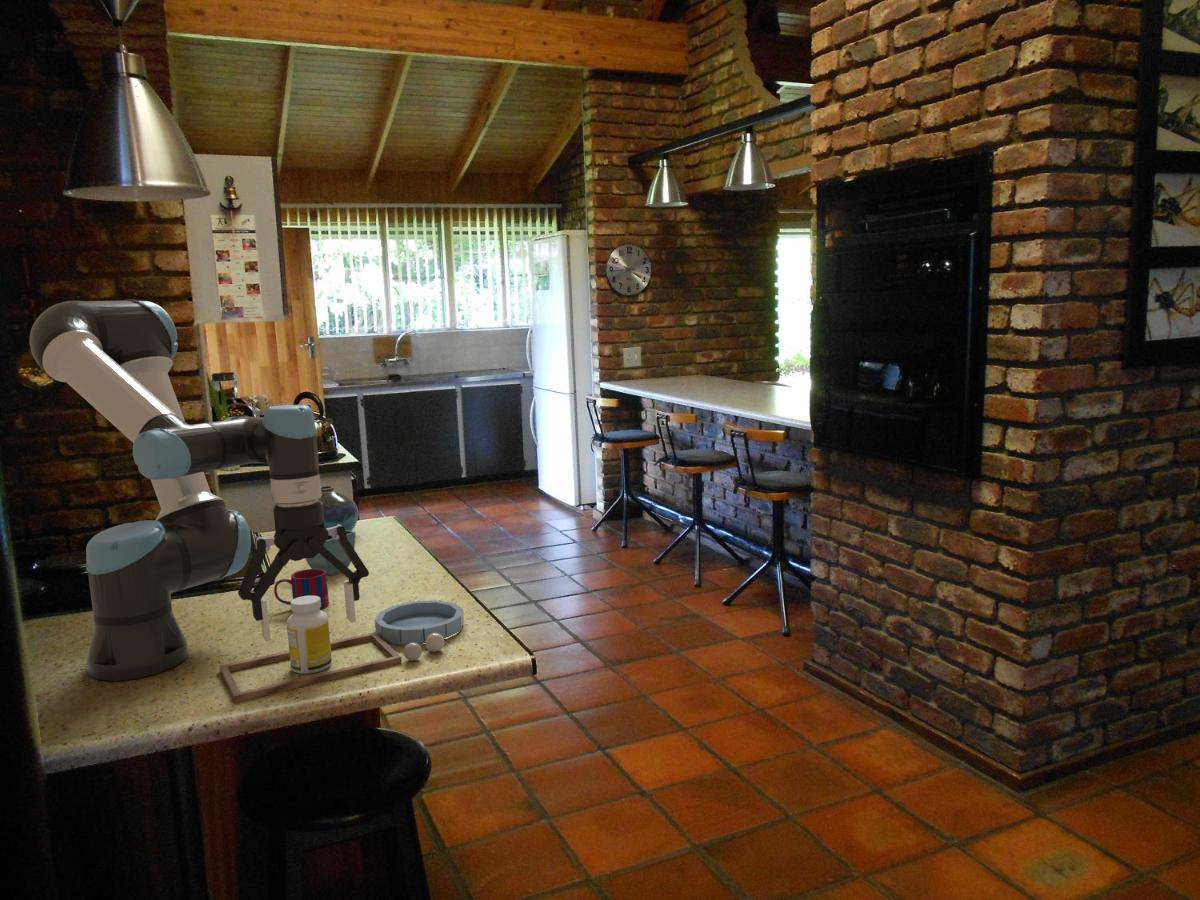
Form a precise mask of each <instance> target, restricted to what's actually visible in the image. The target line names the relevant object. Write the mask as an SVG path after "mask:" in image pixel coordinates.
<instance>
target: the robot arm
mask: <svg viewBox="0 0 1200 900" xmlns="http://www.w3.org/2000/svg"><path fill="white" fill-rule="evenodd" d="M178 338H179V337H178V333H177V328H176V326H175V323H174V321H173V320H172V318H171V316H170V315H169V313H168V312H167V311H166V310H165V309H164V308H163V307H161V305H159V304H157V303H154V302H152V301H148V300H137V299H131V298H130V299H124V300H67V301H62V302H60V303H59V302H58V303H56V304H53V305H52V306H50V307H48V308H46V309H45V310H44V311H43V312H42V313H41V314H39V315H38V317H37V318H36V319H35V321H34V323H33V324H32V327H31V330H30V333H29V346H30V353H31V354H32V357H33V359H34V361H35V362H36V364H37V365H38V366H39V367H40V369H42V371H44V373H46V374H47V376H49V377H50V378H52V379H53V380H54V381H55V380H56V381H58V382H62V383H66V384H68V386H70V387H71V388H72V389H73V390H74V391H75V392H76V393H77V394H79V396H81V397H82V398H83V399H85V400H86V401H87V402H88V404H89V405H91V406H92V407H93V408H94V409H95V410H96V411H98V413H99V414H101V416H103V417H104V418H105V419H106V420H107V421H108V422H110V423H111V424H112V425H113V426H114V427H115V428H116V429H117V430H118V431H119V432H121V433H122V434H123V435H124V437H126V438H127V439H128V440H130V442H132V444H133V446H132V457H133V460H134V464H135V465H137V468H138V469H137V470H138V471H139V473H140V474H141V475H142V476H143V477H144V478H147V479H149V480H150V481H151V484H152V487H153V489H154V493H155V495H156V498H157V501H158V503H159V506H160V511H159V513H158V515H157V517H156V518H155V520H154V519H153V520H152V519H148V520H147V519H146V520H138V521H134V522H126V523H122V524H118V525H116V526H113V527H109V528H107V529H105V530H102V531H101V532H98V533H97V534H95V535H94V536H93V537H91V539H90V540H89V541H88V543H87V544H86V548H85V549H86V552H85V555H86V557H85V559H86V560H85V561H86V564H85V568H86V572H87V577H88V583H89V591H90V599H91V605H92V612H93V613H92V614H93V620H94V621H93V622H94V629H93V633H92V637H91V641H90V645H89V649H88V653H87V659H86V664H87V665H86V666H87V672H88V673H87V674H88V676H90V677H91V678H93V679H96V680H101V681H108V682H109V681H128V680H135V679H141V678H145V677H150V676H153V675H157V674H160V673H163V672H166V671H168V670H170V669H173V668H175V667H177V666H179V665H180V664H182V663H183V662H184V661H185V660H187V659H188V656H189V648H188V641H187V639H186V637H185V634H184V633H183V630H182V629H181V627H180V624H179V622H178V621H177V619H176V617H175V615H174V612H173V605H172V597H171V595H172V594H173V593H176V592H180V591H183V590H186V589H190V588H193V587H195V586H196V587H197V586H199V585H200V586H201V585H203V584H206V583H209V582H213V581H220V580H222V579H224V578H226V577H228V576H231V575H234V574H236V573H238V572H240V571H241V570H242V569H244V567H245V565H246V564H247V562H248V560H249V556H250V555H249V554H250V553H251V548H252V537H251V532H250V527H249V525H248V522H247V520H246V518H245V517H244V516H243V515H241V513H240V512H239V511H236V510H234V509H233V510H232V509H227V506H226V504H225V501H224V499H223V498H222V497H221V496H220V497H219V496H217V495H215V494H213V493H212V492H211V489H210V486H209V484H208V481H207V477H206V475H205V472H211V471H214V470H221V469H226V468H228V469H229V468H231V467H239V466H242V465H249V464H265V465H268V470H269V479H270V489H271V491H270V492H271V500H272V502H273V503H274V506H273V507H272V512H273V520H274V521H273V522H274V536H273V537H262V536H260V535H259V536H256V537H255V538H254V552H253V554H252V557H251V559H250V561H249V564H248V566H247V569H246V572H245V574H244V577H243V579H242V581H241V584H240V587H239V588H238V592H237V595H238V596H239V597H240V599H241V600H242V601H250V602H251V610H252V616H253V618H254V620H255V621H256V622H258V621H260V624H261V625H260V626H261V635H262V636H261V637H262V638H263V639H264V641H265V642H269V641H271V631H270V629H271V628H270V620H269V611H268V601H267V599H266V598H265V594H266V593H267V591H268V590H269V589H270V587H271V586H272V584H273V583H274V582H275V580H276V579H277V577H278V575H280V573H281V571H282V569H283V568H284V567H285V566H286V565H287V564H288V563H289V561H294V562H297V561H301V560H303V559H305V558H308V559H310V558H314V557H315V556H316V555H317V554H318V553H319V554H321V555H322V556H323V557H324V558H325V559H326V560H328V561H329V562H330V563H331V564H332V565H333V566H334V567H336V568H337V569H338V570H339V571H340V572H339V573H341V574H343V576H345V577H346V578H347V579H348V580H344V581H343V590H344V592H343V593H344V601H345V612H346V619H347V620H348V621H349V622H350V623H356V622H357V620H356V619H357V618H356V610H355V602H356V601H357V602H358V601H359V600H360V586H359V585H360V584H359V583H361V579H363V578H366V577H368V576H369V575H370V572H369V569H368V568H367V566H366V565H365V564H364V562H363V560H362V559H361V558H360V557H361V556H360V555H359V554H358V553H357V552H356V550H355V547H354V548H353V547H352V545H351V544H350V542H349V541H348V539H347V536H346V531H345V528H344V527H343V526H341V525H340V524H336V525H335V526H334V527H331V528H327V529H326V528H325V525H324V515H323V504H322V502H321V501H320V500H318V499H320V497H321V496H322V494H321V487H322V485H321V478H320V477H321V476H320V466H319V463H320V462H319V452H318V441H317V438H318V437H317V432H318V431H317V430H318V429H317V427H316V423H315V417H314V411H313V409H312V408H311V407H310V406H309V405H307V404H286V405H285V404H284V405H275V406H269V407H267V408H265V409H264V411H263V417H260V416H259V417H257V416H249V415H240V416H239V415H238V416H231V417H230V416H229V417H226V418H225V419H223V420H218V421H211V422H210V421H209V422H204V423H196V424H189V423H187V422H186V421H185V418H184V417H185V416H184V414H183V412H182V409H181V406H180V404H179V401H178V398H177V396H176V393H175V391H174V388H173V385H172V383H171V379H170V375H169V374H168V373H169V372H170V370H171V368H172V366H173V365H174V362H173V359H174V357H175V356H176V354H177V352H178V347H179V344H178V342H177V340H178ZM329 535H330V536H332V538H333V539H335V540H337V541H338V542H339V544H340V545H341V547H342V549H343V550H344V552H345V553H346V555H347V556H348V558H349V559H350V561H351V563H352V565H353V567H354V568H355V570H354V571H353V570H351V569H350V568H349V567H348V568H347V567H346V566H345V565H344V564H343V563H342V562H341V561H339V560H338V559H337V558H336V557H335V556H334V555H333V554H331V553H330V552H329V551H328V550H327V549H326V548H325V547H323V545H324V543H325V541H326V540H327V538H328V536H329ZM273 545H274V546H275V547H276V548H277V549H278V550H279V551H277V553H276V554H275V556H274V559H273V561H271V563H270V565H269V566H268V568H267V569H266V570H265V572H264V573H263V574H262V576H261V577H260V579H259V580H258V582H257V583H256V579H257V577H258V575H259V572H260V569H261V567H262V565H263V562H264V560H265V557H266V552H269V551H270V550H271V548H272V546H273ZM255 583H256V585H255ZM254 585H255V586H254ZM253 587H254V588H253Z"/></svg>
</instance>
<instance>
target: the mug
mask: <svg viewBox="0 0 1200 900" xmlns="http://www.w3.org/2000/svg"><path fill="white" fill-rule="evenodd" d="M327 576H328V575H327V573H326V571H325V570H323V569H311V568H308V569H301V570H298V571H295V572H293V573H292V574H291V575H290V579H289V578H288V579H287V578H282V579H279V580H277V581H276V582H275V584H274V587H273V591H274V594H273V595H274V596H275V598H276V599H277V601H278V602H280V603H282V604H284V605H289V606H291V600H284V599H282V598H280V596H279V595H278V586H279V584H280V583H281V584H282V583H285V582H286V583H288V584H290V585H291V593H292V600H293V599H295V598H298V597H302V596H318V597H320V599H321V607H320V610H321V611H322V610H323V609H325V608H327V607H328V606H329V605H330V603H329V602H330V599H329V588H328V587H329V586H328V577H327Z"/></svg>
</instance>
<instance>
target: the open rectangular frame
mask: <svg viewBox="0 0 1200 900" xmlns="http://www.w3.org/2000/svg"><path fill="white" fill-rule="evenodd" d="M370 641H372V642H373V643H374V644H375V645H376V646H377V647H378V648H379V649H380V650H381V651H382V652H383V653H384V654H385V655H386V656H387V658H382V659H378V660H374V661H369V662H363V663H359V664H356V665H351V666H347V667H344V668H339V669H335V670H329V671H326V672H322V673H317V674H313V675H308V676H304V677H300V678H297V679H292V680H288V681H287V680H286V681H284V682H279V683H275V684H269V685H266V686H261V687H256V688H253V689H248V690H244V691H240V689H239V687H238V684H237V683H236V681H235V679H234V676H233V675H232V672H234V671H238V670H243V669H248V668H253V667H257V666H262V665H266V664H271V663H274V662H280V661H285V660H290V653H289V650H287V651H286V650H285V651H282V652H277V653H273V654H267V655H264V656H258V657H255V658H249V659H245V660H240V661H236V662H231V663H226V664H222V665H219V670H220V674H221V676H222V678H223V680H224V682H225V684H226V686H227V688H228V690H229V692H230V695H231V697H232V699H233V701H234V703H239V702H243V701H246V700H251V699H252V700H253V699H256V698H260V697H264V696H267V695H273V694H276V693H281V692H285V691H290V690H292V689H298V688H301V687H306V686H310V685H314V684H319V683H323V682H327V681H331V680H335V679H339V678H344V677H349V676H353V675H356V674H357V675H358V674H360V673H365V672H369V671H373V669H374V670H377V668H378V669H381V668H385V666H387V667H390V666H389V665H391V666H394V665H393V664H395V665H397V664H396V663H399V664H401V663H400V662H403V661H402V660H403V659H402V656H401V655H400V654H399V653H398V652H397V651H395V649H394V648H393V647H392V646H390V645H389V643H386V642H385V641H384V640H383V639H382V638H381V637H380V636H379V635H378V634H377V633H376V631H375V632H370V633H366V634H359V635H356V636H351V637H346V638H342V639H337V640H332V641H330V647H331V650H334V649H339V648H344V647H349V646H352V645H358V644H361V643H365V642H370ZM388 656H389V657H390V658H389V657H388Z"/></svg>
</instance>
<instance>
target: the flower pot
mask: <svg viewBox="0 0 1200 900" xmlns="http://www.w3.org/2000/svg"><path fill="white" fill-rule="evenodd" d="M326 529H327V528H326ZM345 531H346V536H347V539H348V541H349V542H350V544H351V545H352V547H353V548H354V549H355V546H356V545H355V543H356V531H355V530H352V531H348V530H345ZM323 547H325V548H326V549H327V550H328V551H329V552H330V553H331V554H333V555H334V556H335V557H336V558H337V559H338V560H339V561H341V562H342V563H343V564H344V565H345V566H346V567H347V568H349V567H350V565H351V563H352V562H351V561H350V559H349V558H348V556H347V555H346V553H345V552H344V550H343V549H342V547H341V545H340V544H339V542H338V541H337V540H335V539H333V538H332V536H330V535H329V536H328V538H327V540H326V541H325V543H324V545H323ZM304 559H305V561H306V563H307V565H308V567H310V569H323V570H325V571H326V573H327V576H329V577H330V576H334V575H337V574H339V573H341V572H340V571H339V570H338V569H337V568H336V567H334V566H333V565H332V564H331V563H330V562H329V561H328V560H326V559H325V558H324V557H323V556H322V555H321V554H319V553H318V554H317V555H316V556H315V557H314V558H310V559H308V558H304Z"/></svg>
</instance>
